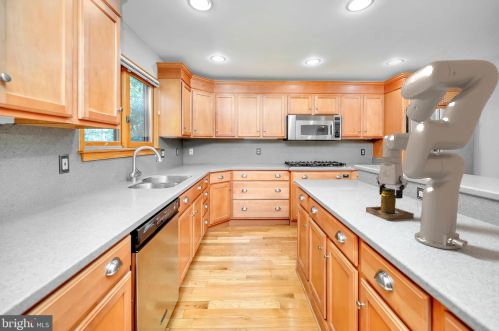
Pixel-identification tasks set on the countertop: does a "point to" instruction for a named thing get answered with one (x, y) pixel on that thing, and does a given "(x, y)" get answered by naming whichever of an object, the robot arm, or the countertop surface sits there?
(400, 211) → the walnut tray
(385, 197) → the condiment
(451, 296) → the countertop surface
